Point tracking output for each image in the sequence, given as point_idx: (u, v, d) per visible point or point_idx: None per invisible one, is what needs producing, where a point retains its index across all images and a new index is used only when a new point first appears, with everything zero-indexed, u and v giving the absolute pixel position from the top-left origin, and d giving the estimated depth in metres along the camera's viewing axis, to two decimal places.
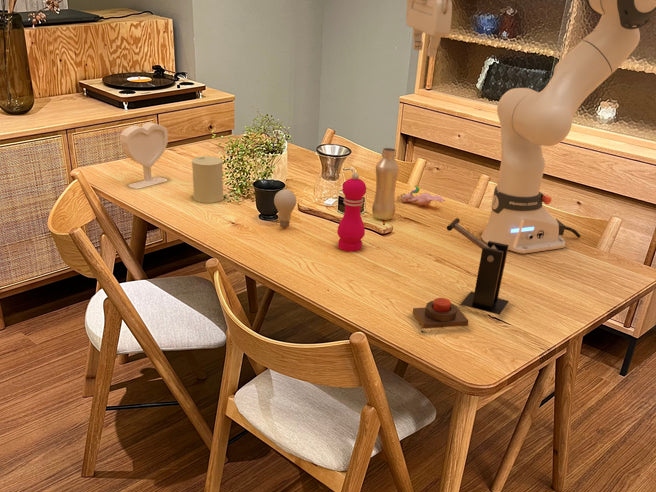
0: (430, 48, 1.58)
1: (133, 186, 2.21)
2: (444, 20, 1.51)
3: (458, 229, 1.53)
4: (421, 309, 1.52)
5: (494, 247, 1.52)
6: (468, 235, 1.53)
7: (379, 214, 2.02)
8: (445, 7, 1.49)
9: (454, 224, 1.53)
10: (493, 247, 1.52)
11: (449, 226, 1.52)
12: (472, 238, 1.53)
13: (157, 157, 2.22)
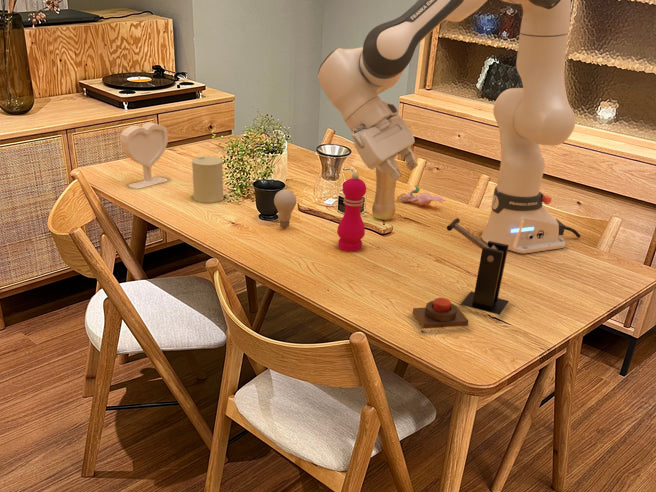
0: (389, 174, 1.50)
1: (133, 186, 2.21)
2: (366, 152, 1.46)
3: (458, 229, 1.53)
4: (421, 309, 1.52)
5: (494, 247, 1.52)
6: (468, 235, 1.53)
7: (379, 214, 2.02)
8: (357, 144, 1.45)
9: (454, 224, 1.53)
10: (493, 247, 1.52)
11: (449, 226, 1.52)
12: (472, 238, 1.53)
13: (157, 157, 2.22)
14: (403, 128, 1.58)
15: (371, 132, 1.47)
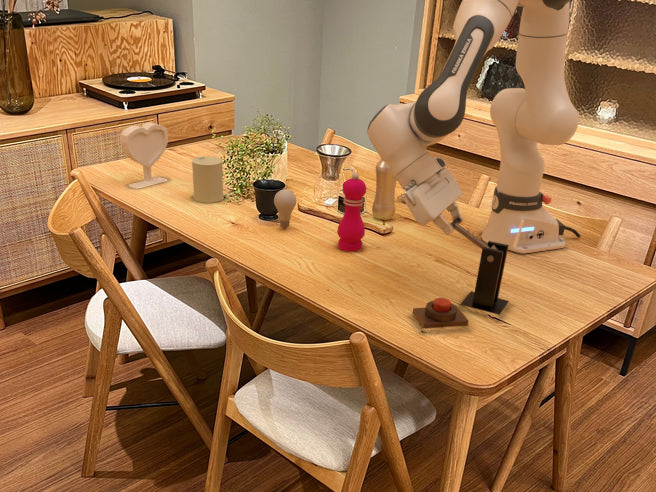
0: (442, 228, 1.51)
1: (133, 186, 2.21)
2: (418, 210, 1.46)
3: (458, 229, 1.53)
4: (421, 309, 1.52)
5: (494, 247, 1.52)
6: (468, 235, 1.53)
7: (379, 214, 2.02)
8: (409, 201, 1.45)
9: (454, 224, 1.53)
10: (493, 247, 1.52)
11: None
12: (472, 238, 1.53)
13: (157, 157, 2.22)
14: (451, 181, 1.58)
15: (422, 189, 1.47)
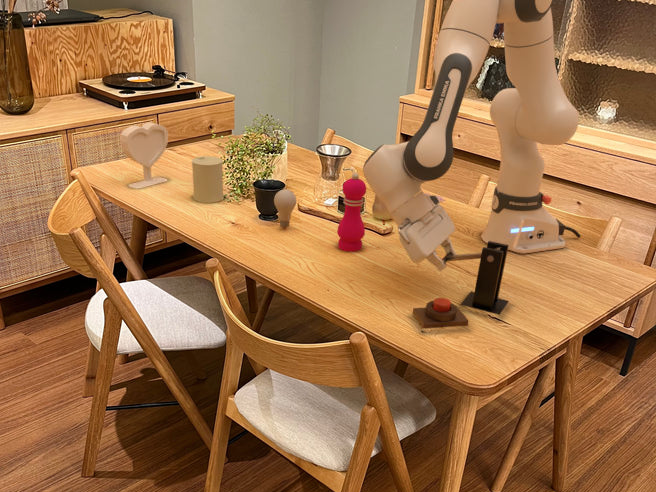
0: (435, 264, 1.56)
1: (133, 186, 2.21)
2: (412, 248, 1.50)
3: (452, 258, 1.57)
4: (421, 309, 1.52)
5: None
6: (462, 256, 1.55)
7: (379, 214, 2.02)
8: (403, 240, 1.50)
9: (445, 257, 1.57)
10: None
11: None
12: (467, 256, 1.55)
13: (157, 157, 2.22)
14: (444, 217, 1.63)
15: (416, 228, 1.52)
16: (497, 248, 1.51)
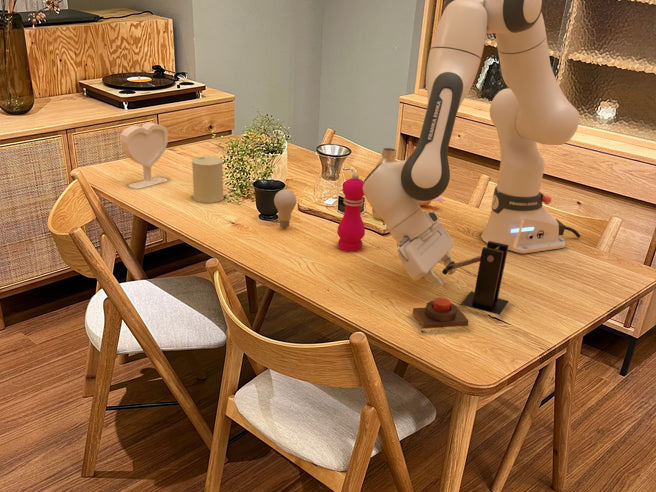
0: (432, 282, 1.57)
1: (133, 186, 2.21)
2: (411, 265, 1.52)
3: (454, 266, 1.58)
4: (421, 309, 1.52)
5: None
6: (464, 262, 1.56)
7: None
8: (402, 257, 1.52)
9: (447, 266, 1.58)
10: None
11: (443, 270, 1.57)
12: (468, 261, 1.55)
13: (157, 157, 2.22)
14: (443, 233, 1.65)
15: (415, 245, 1.54)
16: (496, 247, 1.52)
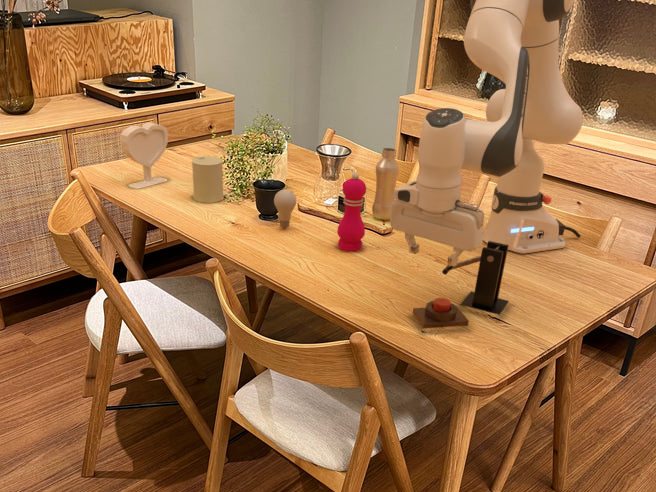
0: (454, 258, 1.43)
1: (133, 186, 2.21)
2: (479, 234, 1.37)
3: (454, 266, 1.58)
4: (421, 309, 1.52)
5: None
6: (464, 262, 1.56)
7: (379, 214, 2.02)
8: (481, 223, 1.36)
9: (447, 266, 1.58)
10: None
11: (443, 270, 1.57)
12: (468, 261, 1.55)
13: (157, 157, 2.22)
14: None
15: None
16: (496, 247, 1.52)
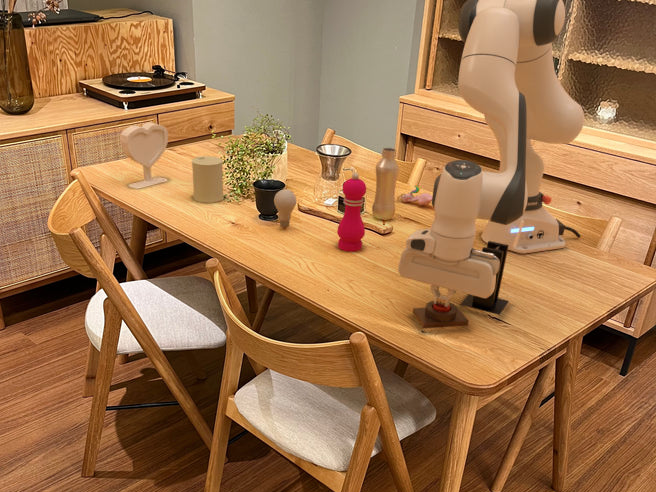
0: (448, 300, 1.47)
1: (133, 186, 2.21)
2: (494, 281, 1.41)
3: None
4: (421, 309, 1.52)
5: None
6: None
7: (379, 214, 2.02)
8: (497, 270, 1.39)
9: None
10: None
11: None
12: None
13: (157, 157, 2.22)
14: None
15: None
16: (496, 247, 1.52)
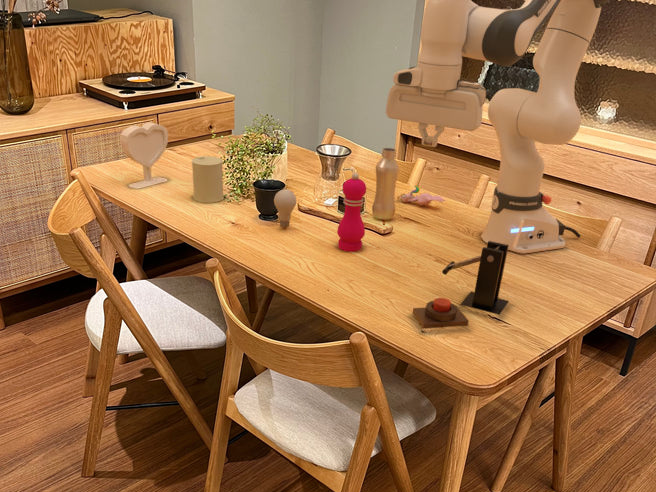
0: (435, 138, 1.48)
1: (133, 186, 2.21)
2: (480, 113, 1.42)
3: (454, 266, 1.58)
4: (421, 309, 1.52)
5: None
6: (464, 262, 1.56)
7: (379, 214, 2.02)
8: (484, 101, 1.41)
9: (447, 266, 1.58)
10: None
11: (443, 270, 1.57)
12: (468, 261, 1.55)
13: (157, 157, 2.22)
14: None
15: None
16: (496, 247, 1.52)
